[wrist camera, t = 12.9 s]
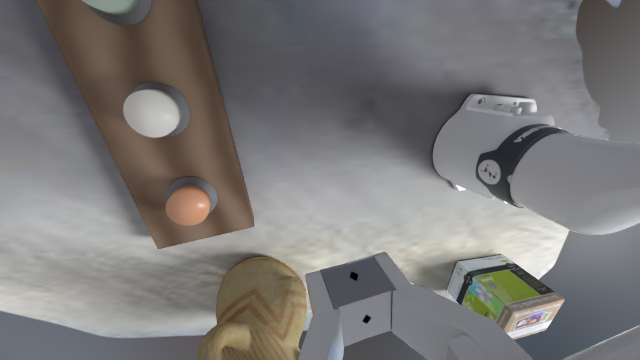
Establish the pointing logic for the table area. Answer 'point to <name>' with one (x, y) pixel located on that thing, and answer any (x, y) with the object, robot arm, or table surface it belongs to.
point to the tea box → (504, 294)
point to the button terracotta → (188, 205)
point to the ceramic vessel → (257, 313)
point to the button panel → (172, 78)
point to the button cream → (152, 112)
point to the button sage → (113, 5)
